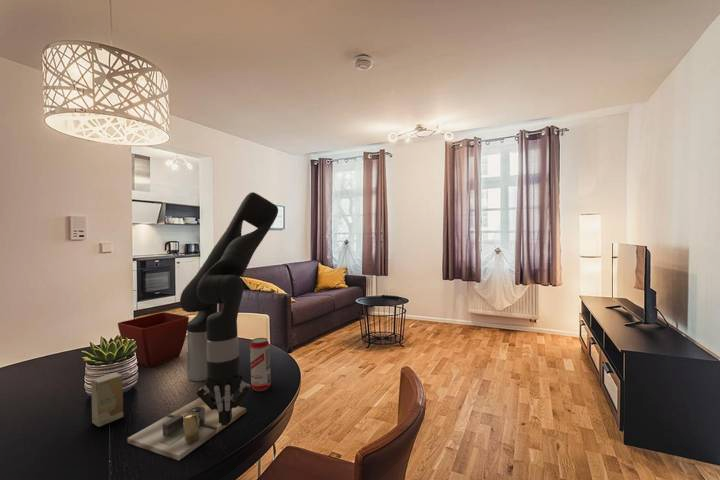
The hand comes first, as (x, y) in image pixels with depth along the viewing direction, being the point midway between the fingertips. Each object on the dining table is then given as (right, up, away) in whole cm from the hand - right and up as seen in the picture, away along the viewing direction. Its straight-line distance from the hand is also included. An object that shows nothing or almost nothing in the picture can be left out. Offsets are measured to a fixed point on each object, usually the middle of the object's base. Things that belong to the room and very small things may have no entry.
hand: (225, 423), depth 85 cm
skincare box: (-37, -5, +11) cm, 39 cm away
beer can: (+1, -4, +29) cm, 29 cm away
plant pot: (-51, -4, +56) cm, 76 cm away
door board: (-12, -4, +7) cm, 14 cm away
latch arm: (-9, -2, +2) cm, 9 cm away
